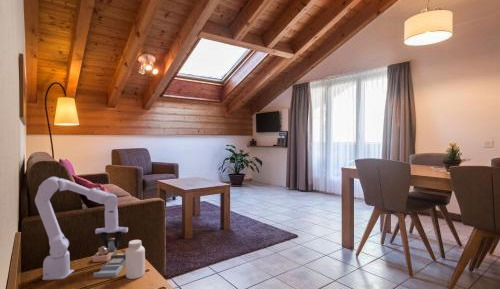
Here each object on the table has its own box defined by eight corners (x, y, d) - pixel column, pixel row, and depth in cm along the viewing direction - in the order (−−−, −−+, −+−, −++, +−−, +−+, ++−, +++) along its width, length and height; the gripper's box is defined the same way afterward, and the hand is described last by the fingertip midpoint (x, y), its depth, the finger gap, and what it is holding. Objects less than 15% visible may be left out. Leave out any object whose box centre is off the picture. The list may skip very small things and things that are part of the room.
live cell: (106, 252, 134) (105, 240, 134) (110, 249, 138) (109, 237, 138) (114, 252, 134) (114, 239, 134) (118, 249, 138) (118, 236, 138)
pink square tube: (92, 262, 140) (92, 256, 140) (99, 256, 147) (99, 250, 147) (107, 261, 140) (107, 255, 140) (113, 256, 147) (113, 250, 147)
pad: (120, 264, 134) (119, 262, 134) (108, 264, 134) (108, 262, 134) (124, 259, 140) (124, 257, 140) (113, 260, 139) (113, 258, 139)
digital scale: (122, 268, 133) (121, 261, 133) (103, 269, 132) (103, 262, 132) (129, 259, 143) (129, 253, 143) (112, 260, 142) (112, 253, 142)
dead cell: (97, 260, 141) (96, 248, 141) (101, 256, 145) (100, 245, 145) (105, 260, 141) (104, 248, 141) (109, 256, 145) (108, 245, 145)
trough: (93, 277, 124) (93, 273, 124) (101, 269, 131) (101, 265, 131) (116, 276, 124) (115, 272, 124) (122, 268, 132) (122, 264, 132)
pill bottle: (138, 280, 121) (137, 245, 121) (121, 278, 123) (121, 244, 122) (148, 271, 129) (148, 239, 129) (133, 270, 130) (132, 238, 130)
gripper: (91, 222, 132) (92, 251, 132) (123, 221, 132) (124, 249, 133) (98, 218, 139) (99, 245, 139) (129, 217, 139) (130, 244, 140)
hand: (112, 247), depth 136 cm, fingers closed on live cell, 4 cm apart
